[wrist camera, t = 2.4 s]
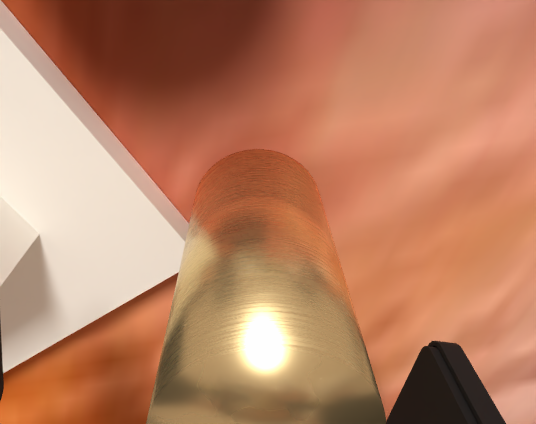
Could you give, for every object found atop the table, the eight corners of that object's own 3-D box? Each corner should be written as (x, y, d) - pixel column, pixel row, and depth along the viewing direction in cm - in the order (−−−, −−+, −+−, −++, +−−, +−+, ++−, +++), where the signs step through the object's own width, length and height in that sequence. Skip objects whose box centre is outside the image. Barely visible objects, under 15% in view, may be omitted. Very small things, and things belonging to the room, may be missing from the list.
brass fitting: (342, 223, 17) (424, 455, 9) (241, 279, 18) (235, 532, 10) (277, 124, 15) (310, 306, 7) (168, 192, 16) (93, 418, 8)
